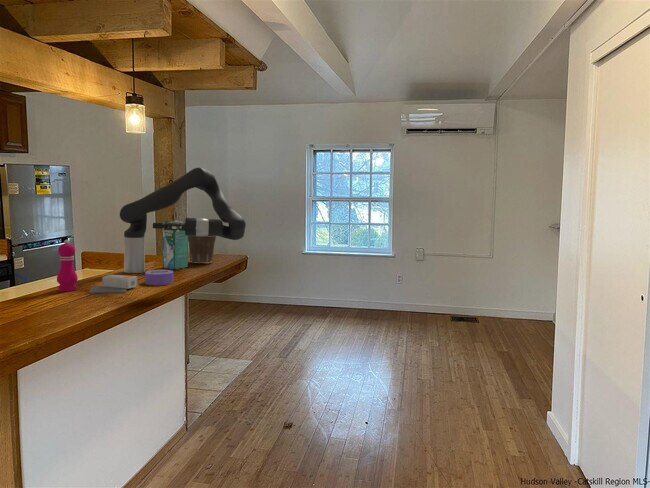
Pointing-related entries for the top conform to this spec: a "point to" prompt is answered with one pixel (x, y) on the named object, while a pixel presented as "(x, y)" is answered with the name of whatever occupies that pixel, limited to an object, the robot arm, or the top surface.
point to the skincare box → (119, 281)
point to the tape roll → (159, 277)
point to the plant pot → (201, 248)
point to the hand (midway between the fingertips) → (152, 225)
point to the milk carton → (175, 248)
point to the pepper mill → (66, 268)
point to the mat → (107, 290)
